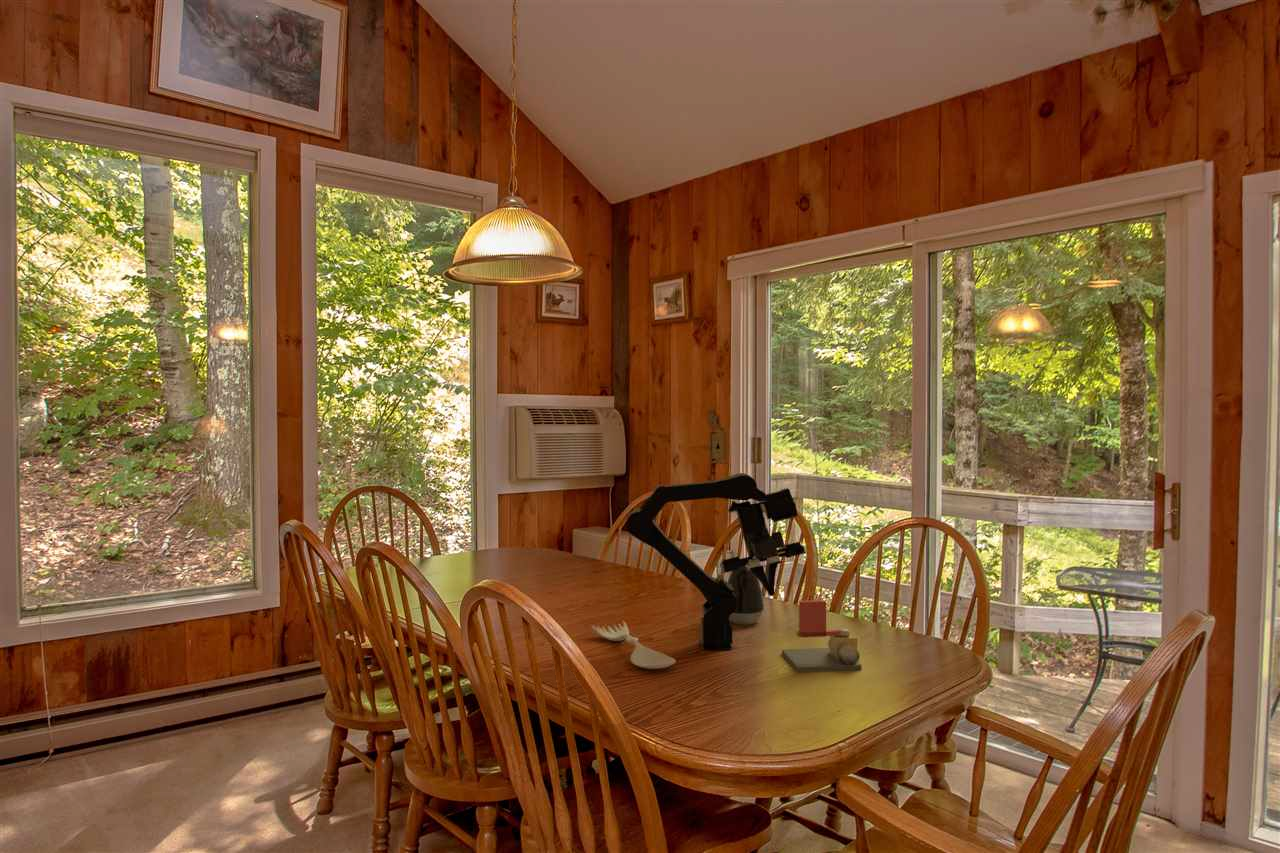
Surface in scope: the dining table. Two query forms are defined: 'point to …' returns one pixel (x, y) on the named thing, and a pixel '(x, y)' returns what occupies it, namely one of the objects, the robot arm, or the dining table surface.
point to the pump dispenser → (746, 596)
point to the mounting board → (815, 660)
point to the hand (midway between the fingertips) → (772, 595)
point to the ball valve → (844, 649)
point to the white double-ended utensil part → (637, 648)
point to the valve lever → (815, 620)
